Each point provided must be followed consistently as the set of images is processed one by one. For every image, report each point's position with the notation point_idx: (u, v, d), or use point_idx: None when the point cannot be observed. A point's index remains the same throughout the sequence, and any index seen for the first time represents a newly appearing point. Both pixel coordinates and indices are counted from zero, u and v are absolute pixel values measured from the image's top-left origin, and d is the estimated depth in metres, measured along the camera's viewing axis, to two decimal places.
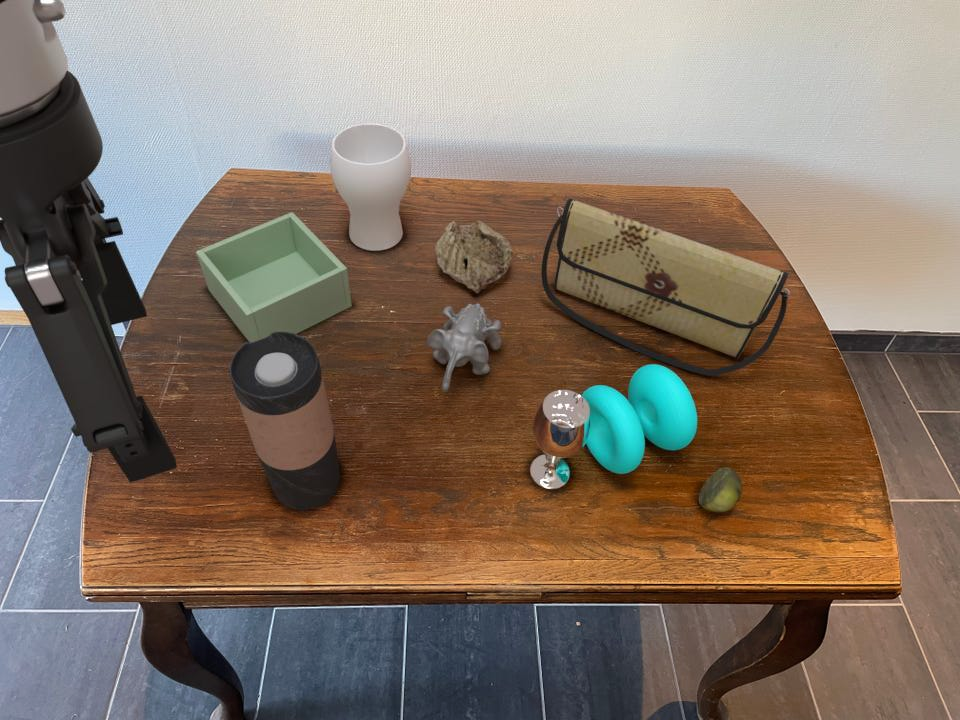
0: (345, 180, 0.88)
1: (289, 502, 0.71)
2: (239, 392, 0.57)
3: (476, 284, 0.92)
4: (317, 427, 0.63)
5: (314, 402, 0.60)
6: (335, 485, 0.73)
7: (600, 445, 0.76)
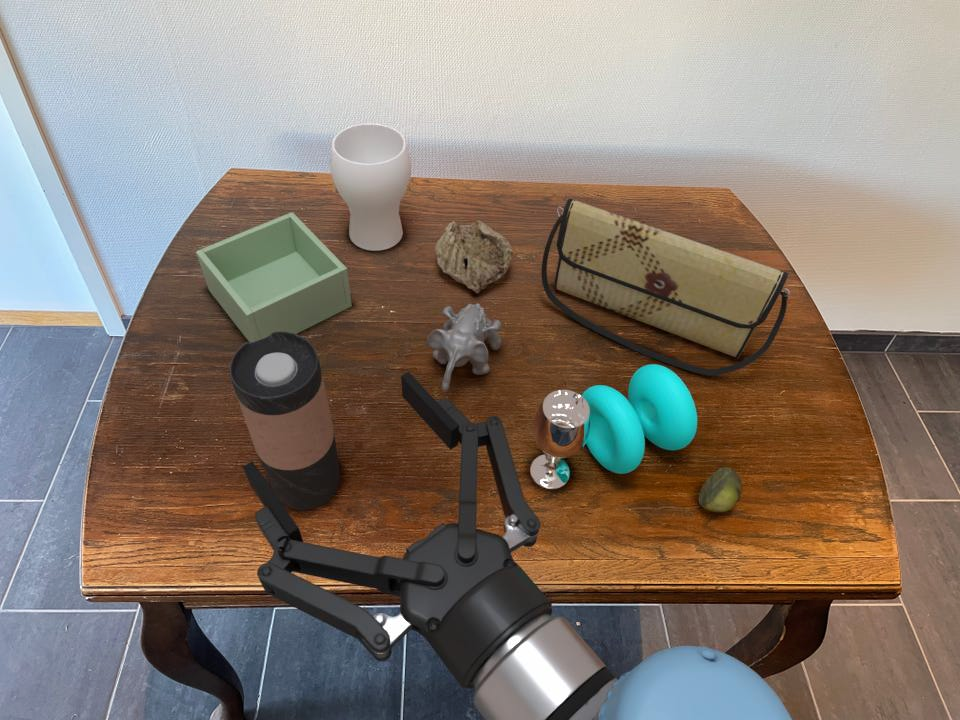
0: (345, 180, 0.88)
1: (289, 502, 0.71)
2: (239, 392, 0.57)
3: (476, 284, 0.92)
4: (317, 427, 0.63)
5: (314, 402, 0.60)
6: (335, 485, 0.73)
7: (600, 445, 0.76)
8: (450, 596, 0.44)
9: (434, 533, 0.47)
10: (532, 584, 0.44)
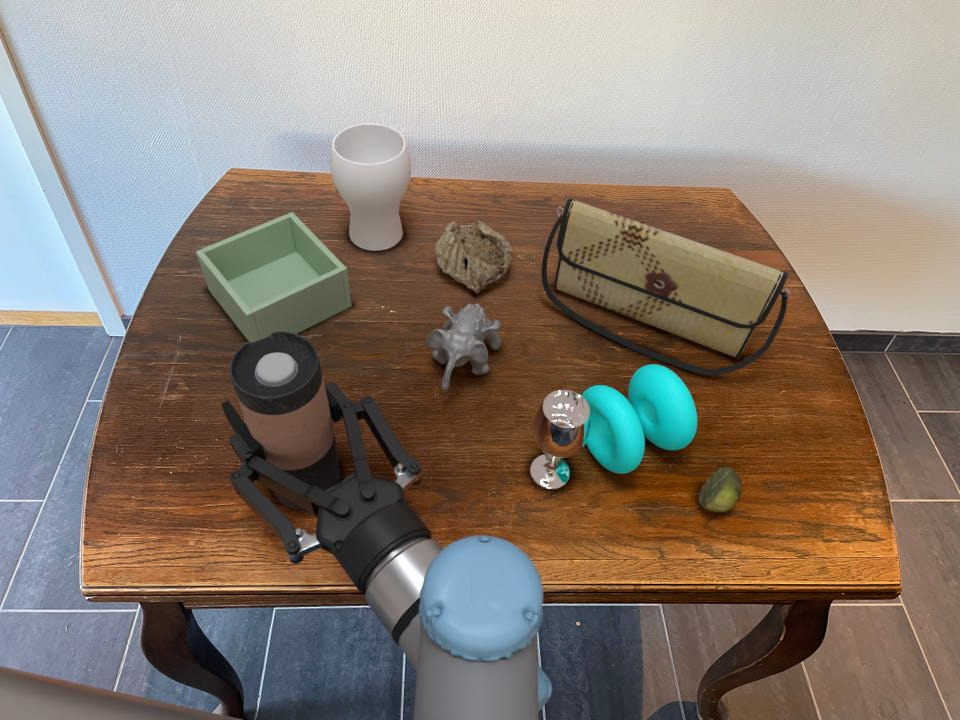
0: (345, 180, 0.88)
1: (289, 502, 0.71)
2: (239, 392, 0.57)
3: (476, 284, 0.92)
4: (317, 426, 0.63)
5: (314, 402, 0.60)
6: None
7: (600, 445, 0.76)
8: (354, 525, 0.58)
9: (346, 480, 0.61)
10: (414, 516, 0.58)
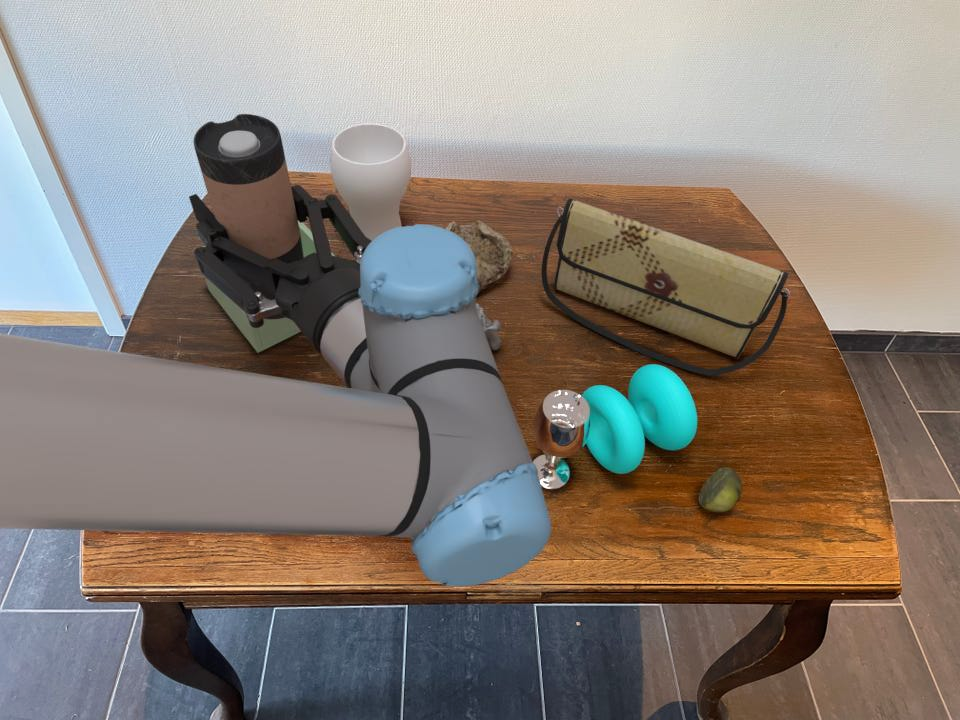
0: (345, 180, 0.88)
1: None
2: (202, 158, 0.59)
3: None
4: (281, 211, 0.65)
5: (276, 179, 0.62)
6: None
7: (600, 445, 0.76)
8: None
9: (306, 258, 0.63)
10: None
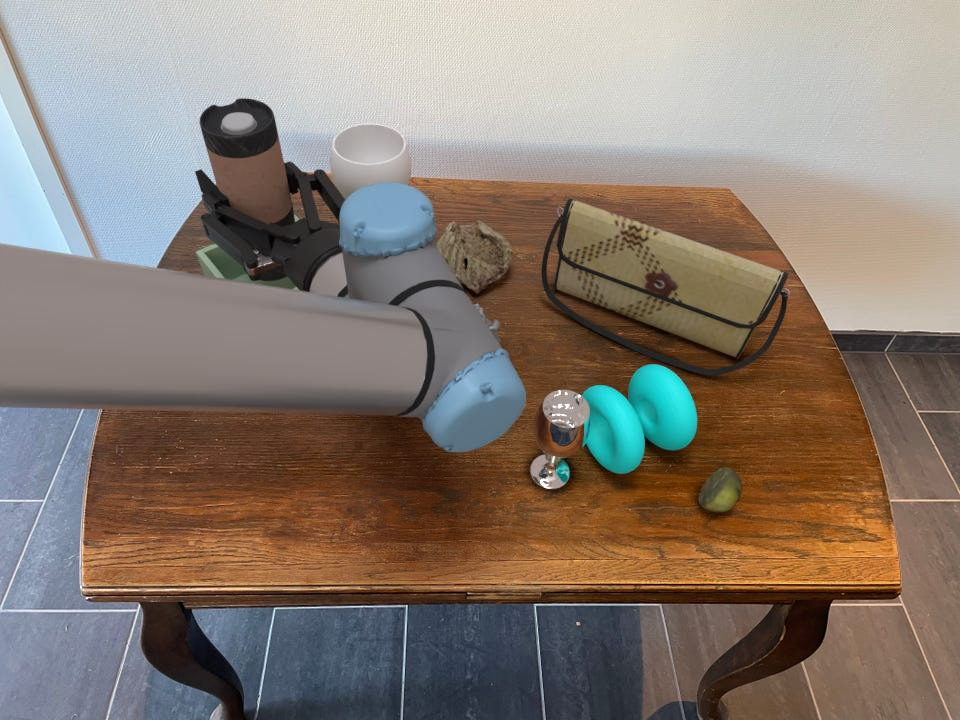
0: (345, 180, 0.88)
1: None
2: (207, 135, 0.70)
3: (476, 284, 0.92)
4: (275, 182, 0.75)
5: (271, 154, 0.72)
6: None
7: (600, 445, 0.76)
8: None
9: (297, 222, 0.73)
10: None
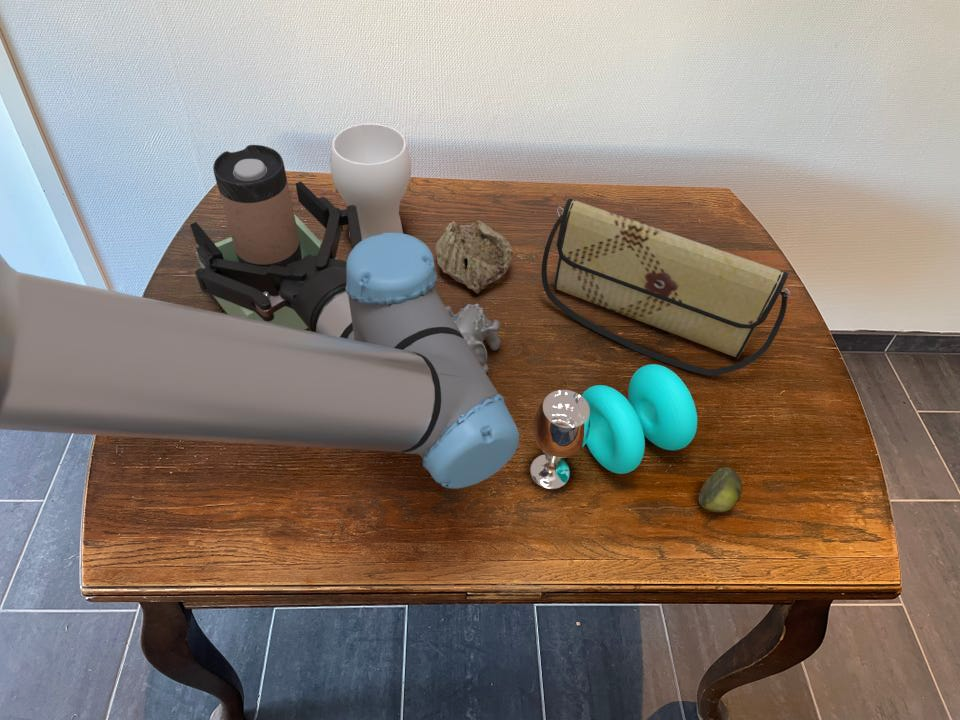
0: (345, 180, 0.88)
1: None
2: (220, 182, 0.74)
3: (476, 284, 0.92)
4: (284, 223, 0.79)
5: (280, 198, 0.77)
6: None
7: (600, 445, 0.76)
8: None
9: (304, 258, 0.77)
10: None
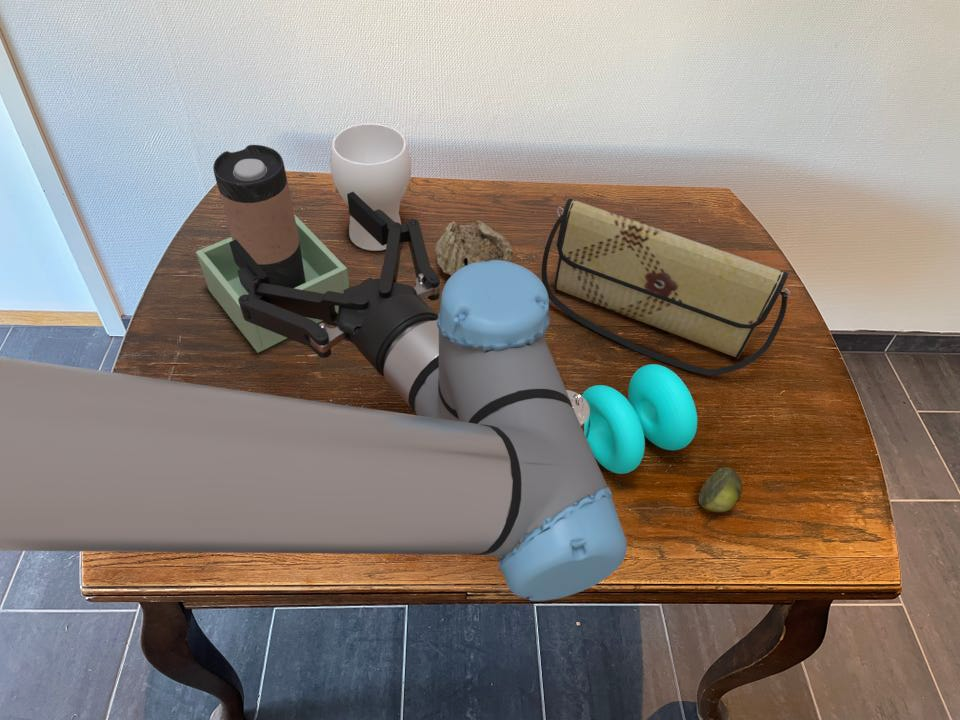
0: (345, 180, 0.88)
1: None
2: (220, 182, 0.74)
3: None
4: (284, 223, 0.79)
5: (280, 198, 0.77)
6: None
7: (600, 445, 0.76)
8: None
9: (364, 283, 0.66)
10: (428, 306, 0.63)
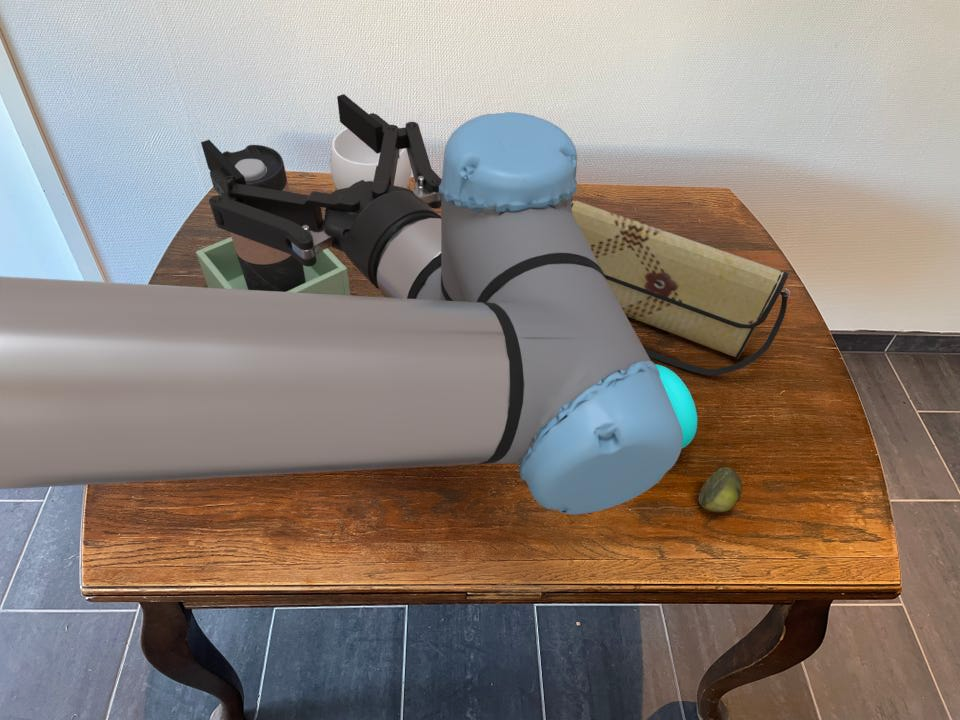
0: (345, 180, 0.88)
1: None
2: None
3: None
4: None
5: None
6: None
7: None
8: None
9: (355, 185, 0.57)
10: None
